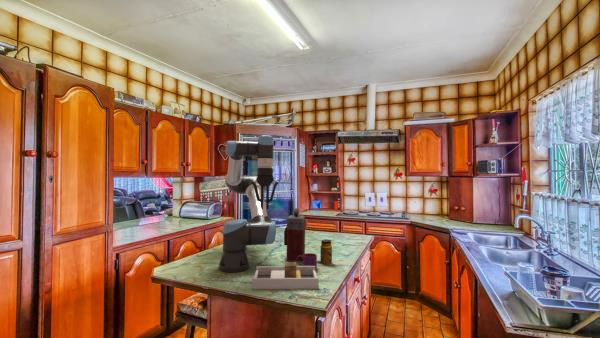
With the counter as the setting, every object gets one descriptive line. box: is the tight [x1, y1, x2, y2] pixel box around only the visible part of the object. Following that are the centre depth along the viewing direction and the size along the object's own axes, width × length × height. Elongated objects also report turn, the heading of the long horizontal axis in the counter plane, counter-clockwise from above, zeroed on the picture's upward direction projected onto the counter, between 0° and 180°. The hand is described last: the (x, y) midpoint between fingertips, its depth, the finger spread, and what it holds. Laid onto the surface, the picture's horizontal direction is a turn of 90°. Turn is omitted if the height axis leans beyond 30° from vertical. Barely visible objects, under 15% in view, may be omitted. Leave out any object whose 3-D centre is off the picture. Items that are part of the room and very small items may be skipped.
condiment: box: [317, 239, 335, 267], centre depth 146 cm, size 7×8×12 cm
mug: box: [296, 252, 318, 271], centre depth 138 cm, size 7×10×7 cm
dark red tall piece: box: [283, 207, 306, 263], centre depth 154 cm, size 9×11×28 cm
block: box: [284, 261, 297, 278], centre depth 121 cm, size 5×5×5 cm
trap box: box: [251, 265, 320, 290], centre depth 121 cm, size 27×16×4 cm, turn 93°
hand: (264, 215), depth 134 cm, fingers closed
